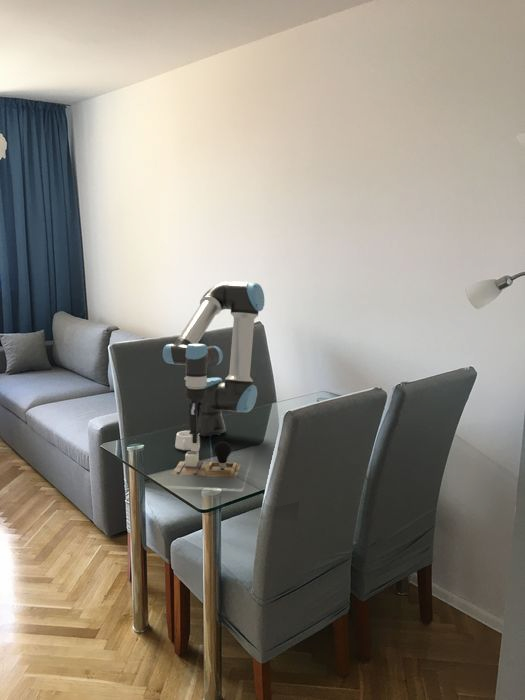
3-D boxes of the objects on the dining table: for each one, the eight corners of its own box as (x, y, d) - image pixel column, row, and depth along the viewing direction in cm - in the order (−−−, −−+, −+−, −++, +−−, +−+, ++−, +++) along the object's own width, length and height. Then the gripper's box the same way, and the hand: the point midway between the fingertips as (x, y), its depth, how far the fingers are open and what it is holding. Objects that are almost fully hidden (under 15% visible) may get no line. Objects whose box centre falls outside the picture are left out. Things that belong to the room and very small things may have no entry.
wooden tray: (180, 463, 215) (180, 457, 214) (240, 466, 213) (240, 460, 213) (171, 476, 201) (171, 471, 200) (236, 479, 199) (236, 474, 199)
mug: (179, 444, 238) (179, 429, 237) (202, 445, 237) (202, 430, 236) (170, 453, 226) (170, 437, 225) (195, 454, 225) (195, 439, 224)
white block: (187, 462, 213) (187, 450, 212) (198, 463, 212) (198, 450, 212) (185, 466, 209) (185, 453, 208) (196, 466, 208) (196, 454, 208)
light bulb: (211, 470, 205) (211, 442, 204) (218, 465, 210) (218, 438, 209) (226, 473, 203) (227, 444, 201) (233, 468, 208) (233, 440, 207)
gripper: (189, 383, 221) (188, 445, 224) (181, 390, 208) (181, 455, 211) (209, 384, 220) (208, 446, 223) (203, 390, 207) (202, 456, 210)
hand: (195, 450), depth 217 cm, fingers closed
